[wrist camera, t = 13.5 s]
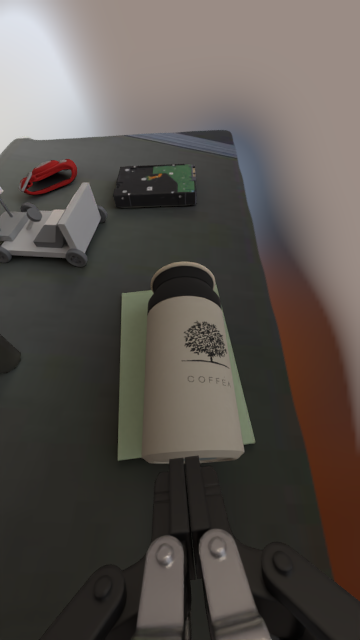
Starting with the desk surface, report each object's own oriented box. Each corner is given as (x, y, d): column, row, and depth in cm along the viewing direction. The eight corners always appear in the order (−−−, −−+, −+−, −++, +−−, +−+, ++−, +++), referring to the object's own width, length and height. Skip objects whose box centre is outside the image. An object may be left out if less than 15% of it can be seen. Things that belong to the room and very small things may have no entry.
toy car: (-77, 203, 31) (-25, 158, 37) (-20, 261, 39) (15, 216, 45) (59, 208, 29) (90, 159, 35) (89, 267, 37) (109, 220, 43)
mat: (254, 443, 24) (255, 442, 23) (118, 460, 23) (117, 460, 23) (215, 285, 34) (215, 282, 34) (122, 295, 34) (121, 293, 34)
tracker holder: (31, 166, 53) (72, 148, 51) (45, 187, 56) (84, 171, 54) (6, 182, 44) (54, 161, 43) (24, 206, 47) (69, 188, 46)
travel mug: (137, 465, 22) (145, 301, 31) (223, 462, 23) (205, 307, 33) (146, 458, 15) (153, 254, 25) (265, 455, 17) (227, 264, 26)
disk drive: (116, 210, 45) (197, 206, 45) (112, 196, 43) (197, 191, 42) (123, 180, 51) (194, 176, 50) (119, 166, 48) (194, 161, 48)
